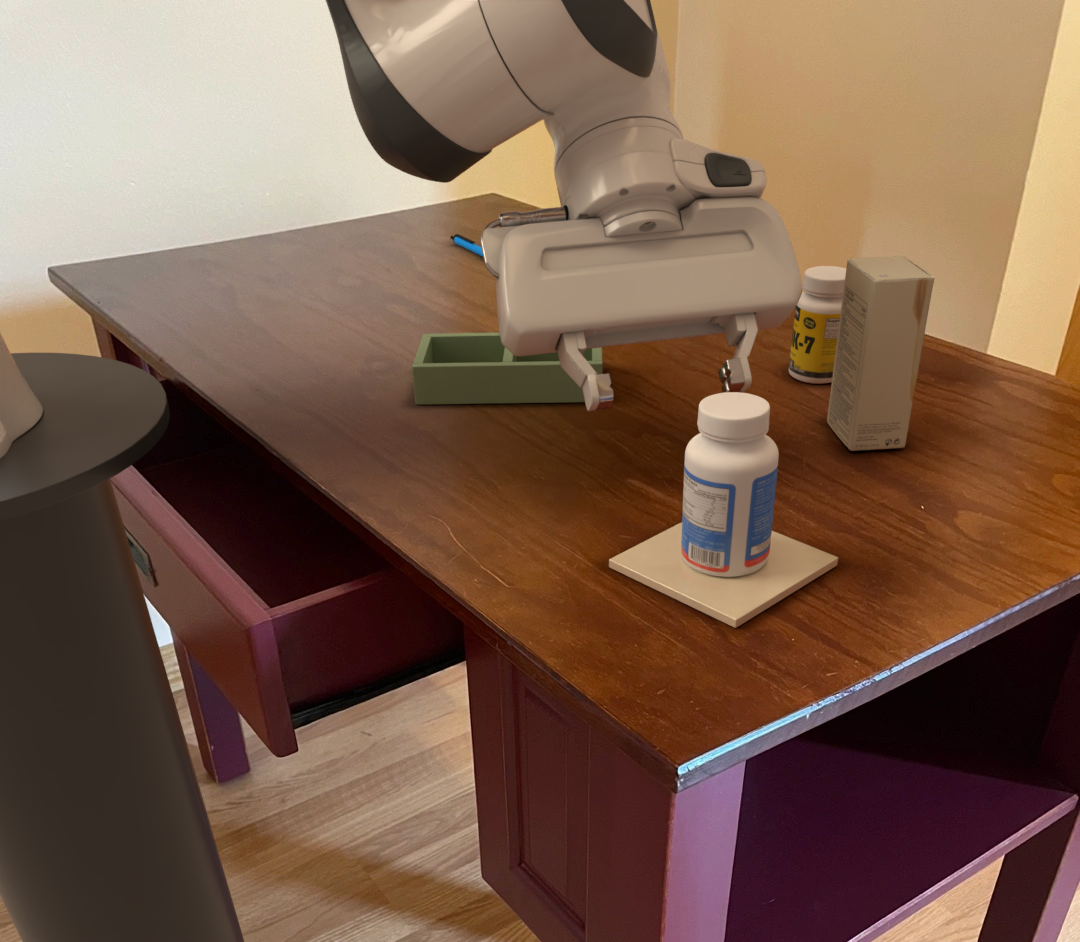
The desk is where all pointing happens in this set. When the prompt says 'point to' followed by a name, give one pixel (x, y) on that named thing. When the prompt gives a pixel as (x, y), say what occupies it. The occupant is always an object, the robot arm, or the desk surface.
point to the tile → (723, 595)
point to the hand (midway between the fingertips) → (670, 398)
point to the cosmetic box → (878, 351)
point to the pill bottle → (729, 486)
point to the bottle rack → (490, 372)
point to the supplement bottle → (817, 325)
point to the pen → (467, 244)
